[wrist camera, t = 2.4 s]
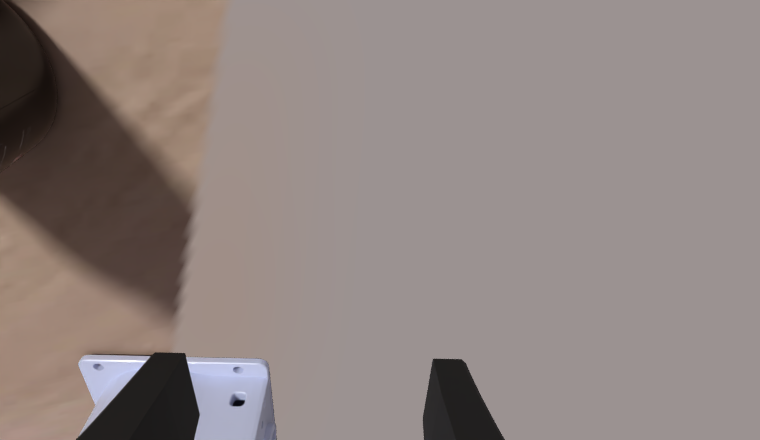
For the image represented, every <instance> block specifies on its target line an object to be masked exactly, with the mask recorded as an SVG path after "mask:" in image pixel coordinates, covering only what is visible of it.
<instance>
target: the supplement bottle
mask: <svg viewBox="0 0 760 440" xmlns="http://www.w3.org/2000/svg"><path fill="white" fill-rule="evenodd" d="M56 109H57V88H56V82H55V77H54V73H53V70H52V67H51V64H50V62H49V60H48V57H47V55H46V53H45V51H44V50H43V48H42V46H41V44H40V43H39V41H38V39H37V38H36V36H35V35H34V34H33V32H32V31H31V29H30V28H29V27H28V26H27V24H26V23H25V22H24V21H23V20H22V18H21V17H20V16H19V15H18V14H17V13H16V12H15V11H14V10H13V9H12V8H11V7H10V6H9V5H8V4H7V3H5V2H4V1H3V0H0V173H1V172H2V171H3V170H5V169H6V168H7V167H9V166H10V165H11V164H13V163H14V162H16V161H17V160H18V159H20V158H21V157H22V156H23V155H24V154H26V153H27V152H28V151H30V150H31V149H32V148H34V147H35V146H36V145H37V144H38V143H39V142H40V141H41V140H42V139H43V138H44V137H45V135H46V134H47V133H48V131H49V129H50V127H51V125H52V123H53V120H54V118H55V114H56Z"/></svg>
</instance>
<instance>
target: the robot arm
mask: <svg viewBox="0 0 760 440" xmlns="http://www.w3.org/2000/svg"><path fill="white" fill-rule="evenodd" d="M78 365H79V368H80V370H81V373H82V375H83V377H84V380H85V382H86V384H87V387H88V389H89V391H90V394H91V396H92V398H93V401H94V403H95V405H96V406H95V407H94V409H93V411H92V413H91V415H90V416H89V418H88V420H87V422H86V424H85V425H84V427H83V429H82V431H81V433H80V434H79V436H78V438H77V439H76V440H277V438H276V425H275V419H274V409H273V401H272V391H271V381H270V372H269V365H268V363H267V362H266V361H265V360H263V359H259V358H214V357H186V355H185V353H154V354H153V355H152V356H125V355H85V356H83V357H82V358H81V360H80V361H79V363H78ZM423 429H424V440H505V439H504V438H503V436H502V434H501V432H500V431H499V429H498V427H497V425H496V423H495V422H494V420H493V418H492V416H491V414H490V412H489V410H488V408H487V407H486V405H485V403H484V401H483V399H482V397H481V395H480V393H479V391H478V389H477V387H476V385H475V383H474V381H473V379H472V376H471V374H470V372H469V370H468V367H467V365H466V363H465V362H464V361H463V360H461V359H433V362H432V368H431V374H430V379H429V386H428V392H427V397H426V403H425V409H424V415H423Z"/></svg>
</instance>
